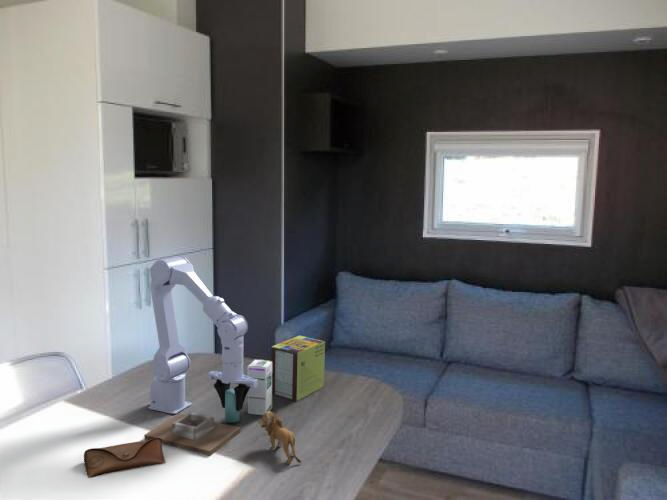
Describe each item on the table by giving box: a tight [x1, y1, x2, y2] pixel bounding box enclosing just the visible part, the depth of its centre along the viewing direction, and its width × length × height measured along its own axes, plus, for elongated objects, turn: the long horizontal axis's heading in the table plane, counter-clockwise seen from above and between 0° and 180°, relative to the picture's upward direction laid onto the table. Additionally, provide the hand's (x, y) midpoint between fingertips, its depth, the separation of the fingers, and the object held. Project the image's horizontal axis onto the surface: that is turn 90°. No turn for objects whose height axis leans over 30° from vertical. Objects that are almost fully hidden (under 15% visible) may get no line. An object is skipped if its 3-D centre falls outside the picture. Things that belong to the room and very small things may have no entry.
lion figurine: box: [257, 410, 302, 465], centre depth 139 cm, size 15×5×9 cm, turn 44°
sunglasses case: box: [83, 438, 167, 479], centre depth 134 cm, size 18×7×7 cm, turn 117°
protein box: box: [270, 335, 326, 402], centre depth 179 cm, size 10×15×16 cm
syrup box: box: [246, 359, 273, 416], centre depth 163 cm, size 6×6×14 cm
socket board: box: [143, 411, 242, 456], centre depth 148 cm, size 20×14×4 cm
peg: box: [224, 388, 241, 423], centre depth 155 cm, size 4×4×8 cm
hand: (232, 408), depth 156 cm, fingers closed on peg, 4 cm apart
